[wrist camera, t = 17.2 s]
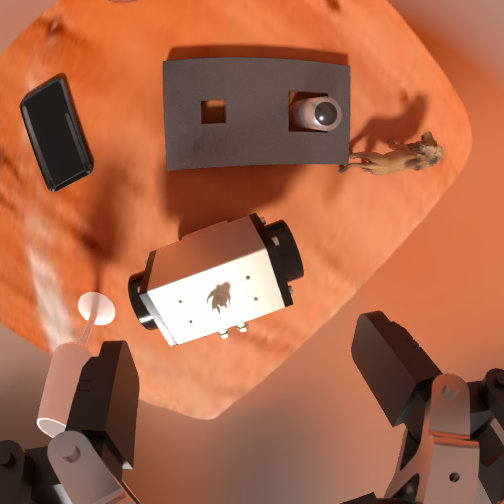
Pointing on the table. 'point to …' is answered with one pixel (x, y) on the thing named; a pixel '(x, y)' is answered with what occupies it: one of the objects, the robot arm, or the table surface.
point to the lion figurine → (400, 157)
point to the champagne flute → (71, 365)
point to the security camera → (217, 279)
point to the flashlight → (316, 113)
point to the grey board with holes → (250, 112)
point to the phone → (55, 135)
